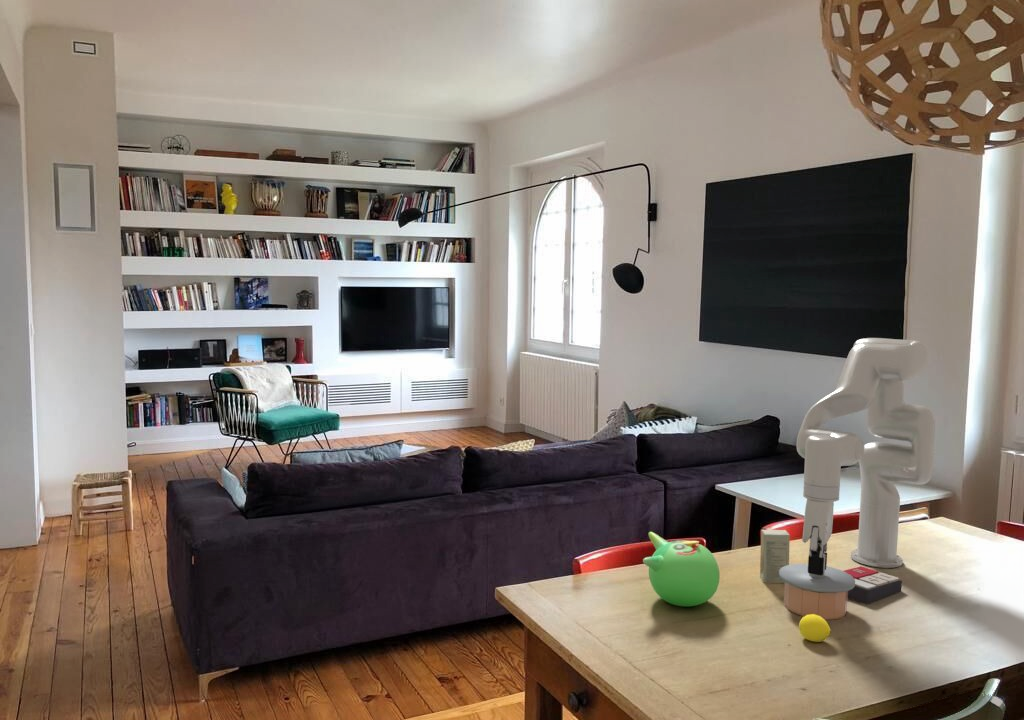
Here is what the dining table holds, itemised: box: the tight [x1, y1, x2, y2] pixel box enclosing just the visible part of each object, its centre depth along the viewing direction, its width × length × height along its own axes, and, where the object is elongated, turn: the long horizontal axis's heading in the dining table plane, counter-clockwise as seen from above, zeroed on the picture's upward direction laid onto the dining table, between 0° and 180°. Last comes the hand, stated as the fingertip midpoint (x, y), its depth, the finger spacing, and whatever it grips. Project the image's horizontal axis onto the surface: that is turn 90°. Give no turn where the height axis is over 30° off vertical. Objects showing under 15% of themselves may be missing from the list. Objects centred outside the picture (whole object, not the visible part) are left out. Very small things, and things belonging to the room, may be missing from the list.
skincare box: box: [759, 529, 791, 584], centre depth 203 cm, size 6×4×12 cm
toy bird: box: [642, 531, 721, 608], centre depth 188 cm, size 18×17×15 cm
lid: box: [779, 553, 855, 593], centre depth 185 cm, size 16×16×6 cm
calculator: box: [843, 565, 903, 605], centre depth 197 cm, size 11×4×15 cm
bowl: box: [783, 582, 849, 621], centre depth 186 cm, size 13×13×6 cm
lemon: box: [798, 614, 832, 643], centre depth 169 cm, size 7×5×5 cm
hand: (817, 570), depth 185 cm, fingers closed on lid, 3 cm apart
